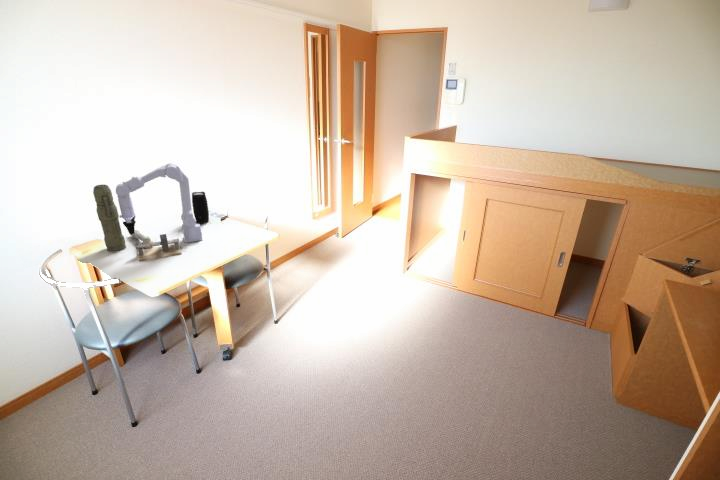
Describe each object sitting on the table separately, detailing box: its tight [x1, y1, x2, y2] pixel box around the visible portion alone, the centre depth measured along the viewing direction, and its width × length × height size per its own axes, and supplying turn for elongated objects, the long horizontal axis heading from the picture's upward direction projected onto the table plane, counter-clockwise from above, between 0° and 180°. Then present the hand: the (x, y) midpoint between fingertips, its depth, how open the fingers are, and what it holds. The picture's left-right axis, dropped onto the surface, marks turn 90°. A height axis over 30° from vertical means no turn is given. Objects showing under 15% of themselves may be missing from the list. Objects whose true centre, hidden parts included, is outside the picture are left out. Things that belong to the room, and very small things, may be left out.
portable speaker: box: [191, 191, 210, 224], centre depth 234 cm, size 9×9×20 cm
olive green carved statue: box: [92, 184, 127, 253], centre depth 190 cm, size 9×12×35 cm
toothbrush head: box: [129, 229, 154, 250], centre depth 205 cm, size 5×7×25 cm
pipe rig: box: [135, 238, 183, 262], centre depth 193 cm, size 20×12×7 cm, turn 120°
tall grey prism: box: [159, 233, 169, 252], centre depth 193 cm, size 3×7×7 cm, turn 30°
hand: (132, 231), depth 194 cm, fingers open, 7 cm apart
